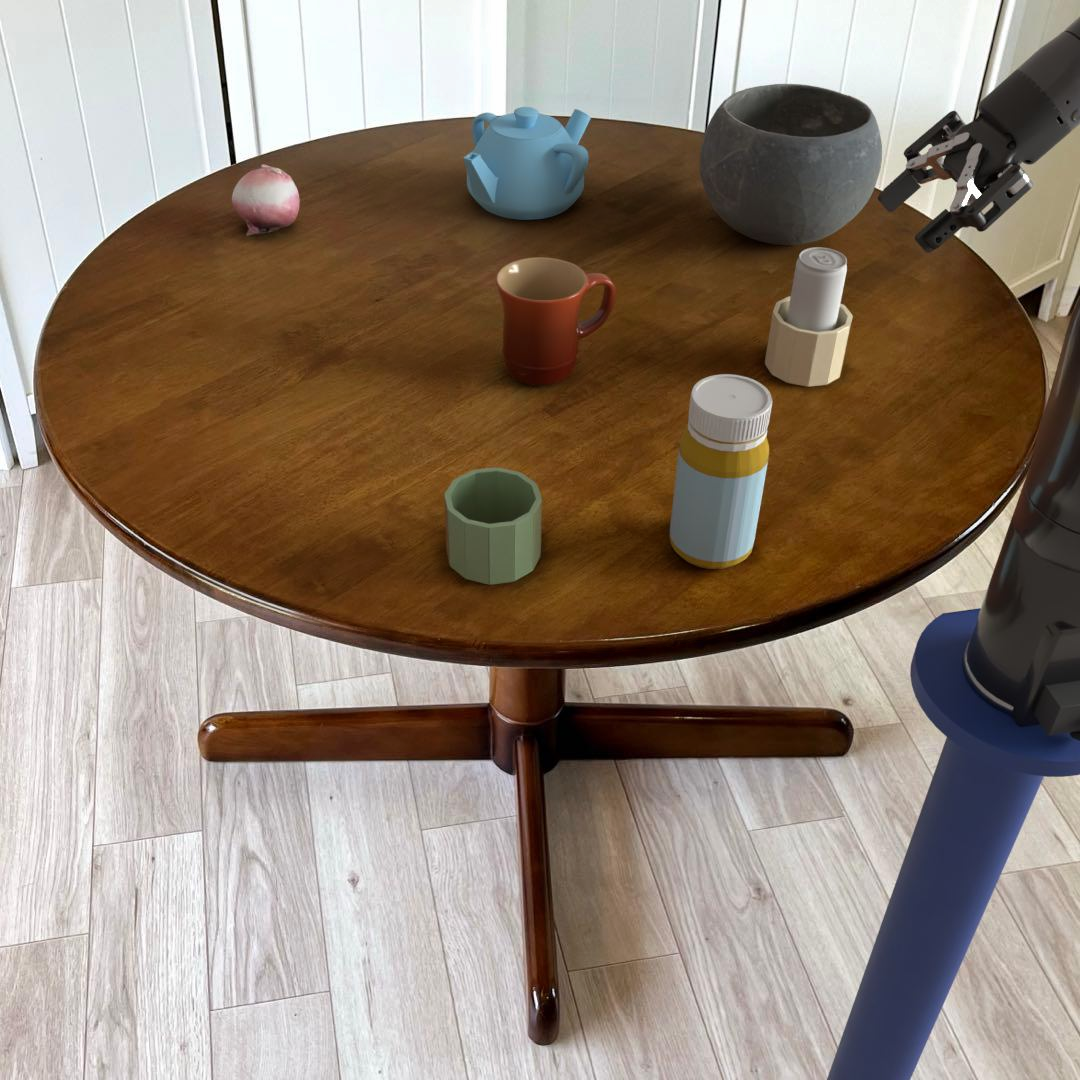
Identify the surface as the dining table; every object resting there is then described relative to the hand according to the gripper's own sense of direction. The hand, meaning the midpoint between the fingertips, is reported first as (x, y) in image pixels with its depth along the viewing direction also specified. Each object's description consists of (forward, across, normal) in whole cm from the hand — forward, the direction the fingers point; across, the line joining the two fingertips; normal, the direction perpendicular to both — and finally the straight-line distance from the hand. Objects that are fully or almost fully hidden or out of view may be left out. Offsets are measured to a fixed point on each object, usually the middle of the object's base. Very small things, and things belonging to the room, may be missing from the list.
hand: (901, 225), depth 117 cm
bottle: (+28, +25, -7) cm, 39 cm away
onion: (+53, -40, -32) cm, 73 cm away
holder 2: (+16, 0, +5) cm, 17 cm away
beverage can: (+16, 0, +5) cm, 17 cm away
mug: (+34, -4, -12) cm, 36 cm away
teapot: (+30, -43, -9) cm, 53 cm away
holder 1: (+41, +23, -20) cm, 51 cm away
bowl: (+10, -29, +11) cm, 33 cm away
